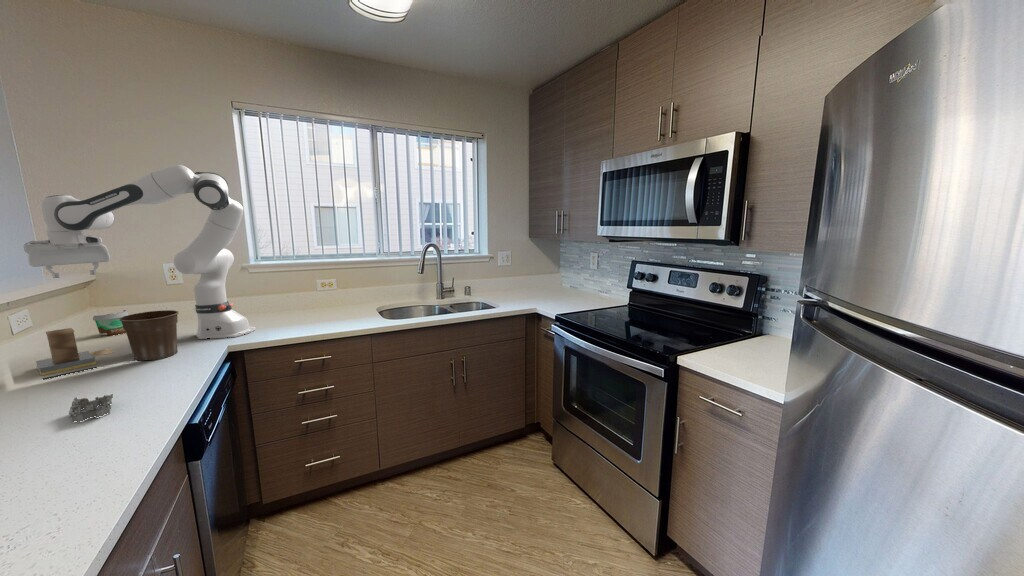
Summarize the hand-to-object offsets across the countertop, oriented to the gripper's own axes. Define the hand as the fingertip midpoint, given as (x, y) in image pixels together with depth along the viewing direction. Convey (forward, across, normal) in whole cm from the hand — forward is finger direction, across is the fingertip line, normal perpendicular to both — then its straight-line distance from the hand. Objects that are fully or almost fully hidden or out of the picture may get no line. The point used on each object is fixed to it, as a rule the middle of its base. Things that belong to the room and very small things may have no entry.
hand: (75, 276), depth 144 cm
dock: (+31, -9, -20) cm, 38 cm away
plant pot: (+32, +13, -27) cm, 44 cm away
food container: (+30, +12, +29) cm, 43 cm away
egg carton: (+33, -10, -72) cm, 80 cm away
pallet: (+31, 0, -9) cm, 32 cm away
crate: (+27, -9, -20) cm, 35 cm away
